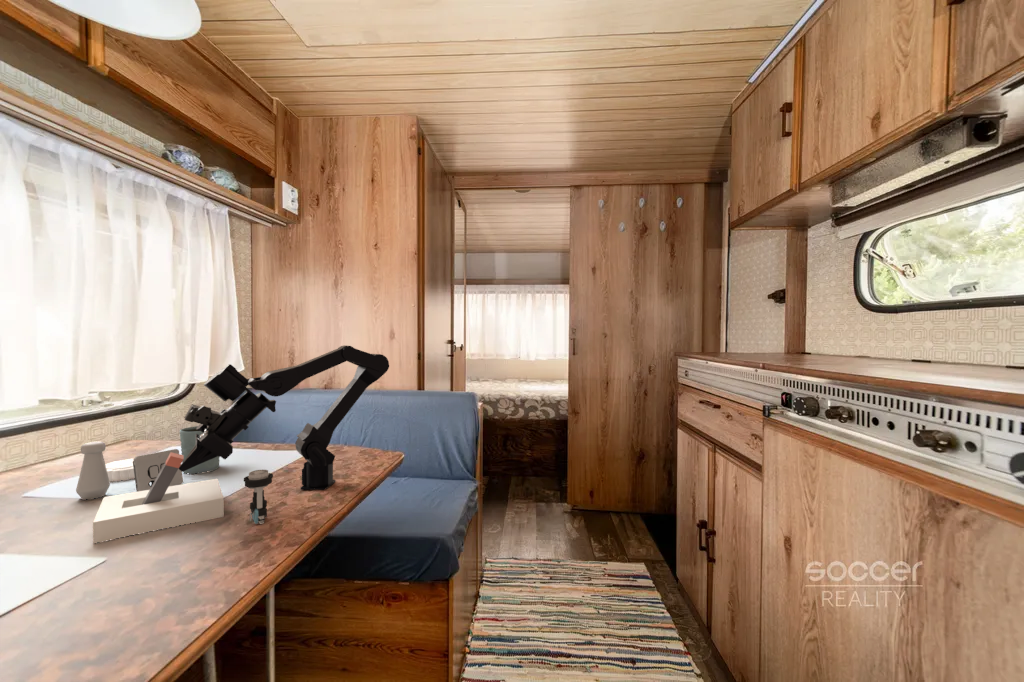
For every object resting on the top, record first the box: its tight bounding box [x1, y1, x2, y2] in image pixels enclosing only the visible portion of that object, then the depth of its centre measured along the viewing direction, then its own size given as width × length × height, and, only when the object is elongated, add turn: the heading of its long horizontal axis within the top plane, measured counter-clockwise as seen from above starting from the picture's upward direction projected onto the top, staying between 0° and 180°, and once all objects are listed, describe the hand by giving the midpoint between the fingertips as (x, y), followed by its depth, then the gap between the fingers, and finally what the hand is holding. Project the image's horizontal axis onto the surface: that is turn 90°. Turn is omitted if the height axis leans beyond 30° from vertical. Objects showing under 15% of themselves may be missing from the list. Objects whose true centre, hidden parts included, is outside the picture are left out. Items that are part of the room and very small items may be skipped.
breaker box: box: [92, 478, 225, 545], centre depth 91 cm, size 20×16×4 cm
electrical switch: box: [132, 448, 184, 492], centre depth 109 cm, size 9×5×9 cm, turn 152°
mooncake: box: [105, 458, 135, 482], centre depth 119 cm, size 12×12×4 cm
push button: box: [243, 469, 274, 525], centre depth 89 cm, size 7×5×10 cm
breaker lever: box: [142, 452, 184, 505], centre depth 91 cm, size 2×4×11 cm, turn 38°
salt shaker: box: [75, 440, 111, 501], centre depth 102 cm, size 6×6×13 cm
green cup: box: [179, 425, 221, 475], centre depth 124 cm, size 10×10×12 cm
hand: (180, 470), depth 93 cm, fingers closed
